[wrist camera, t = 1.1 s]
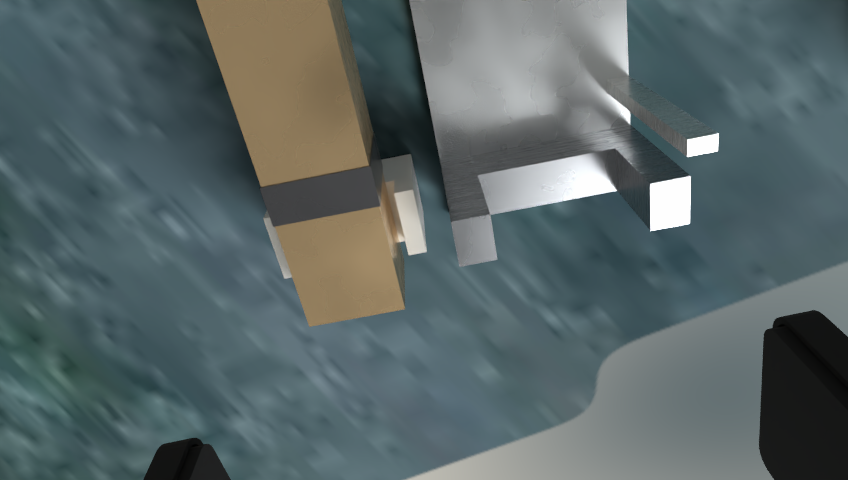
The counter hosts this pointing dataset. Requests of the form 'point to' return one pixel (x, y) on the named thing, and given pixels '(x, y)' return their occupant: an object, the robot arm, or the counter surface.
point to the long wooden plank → (312, 150)
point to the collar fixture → (545, 114)
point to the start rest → (402, 203)
